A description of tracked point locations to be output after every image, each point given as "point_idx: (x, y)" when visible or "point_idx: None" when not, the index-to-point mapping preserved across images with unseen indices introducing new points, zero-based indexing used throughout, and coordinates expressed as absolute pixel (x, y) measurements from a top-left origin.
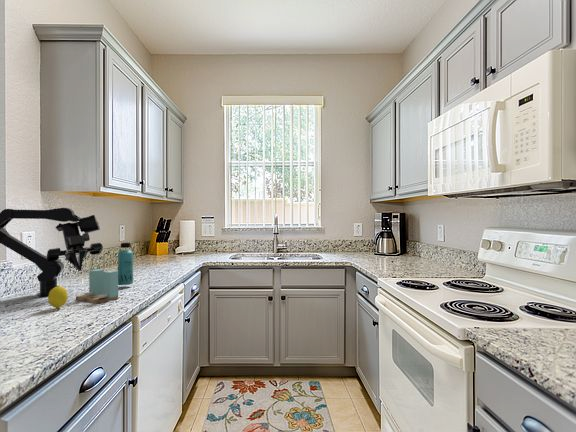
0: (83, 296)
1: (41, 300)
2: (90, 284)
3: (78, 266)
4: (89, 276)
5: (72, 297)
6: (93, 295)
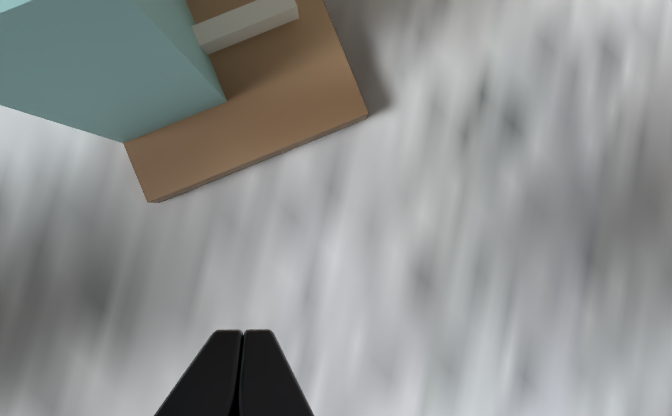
0: (299, 57)
1: (640, 356)
2: (185, 40)
3: (269, 394)
4: (154, 17)
5: (365, 274)
6: None
